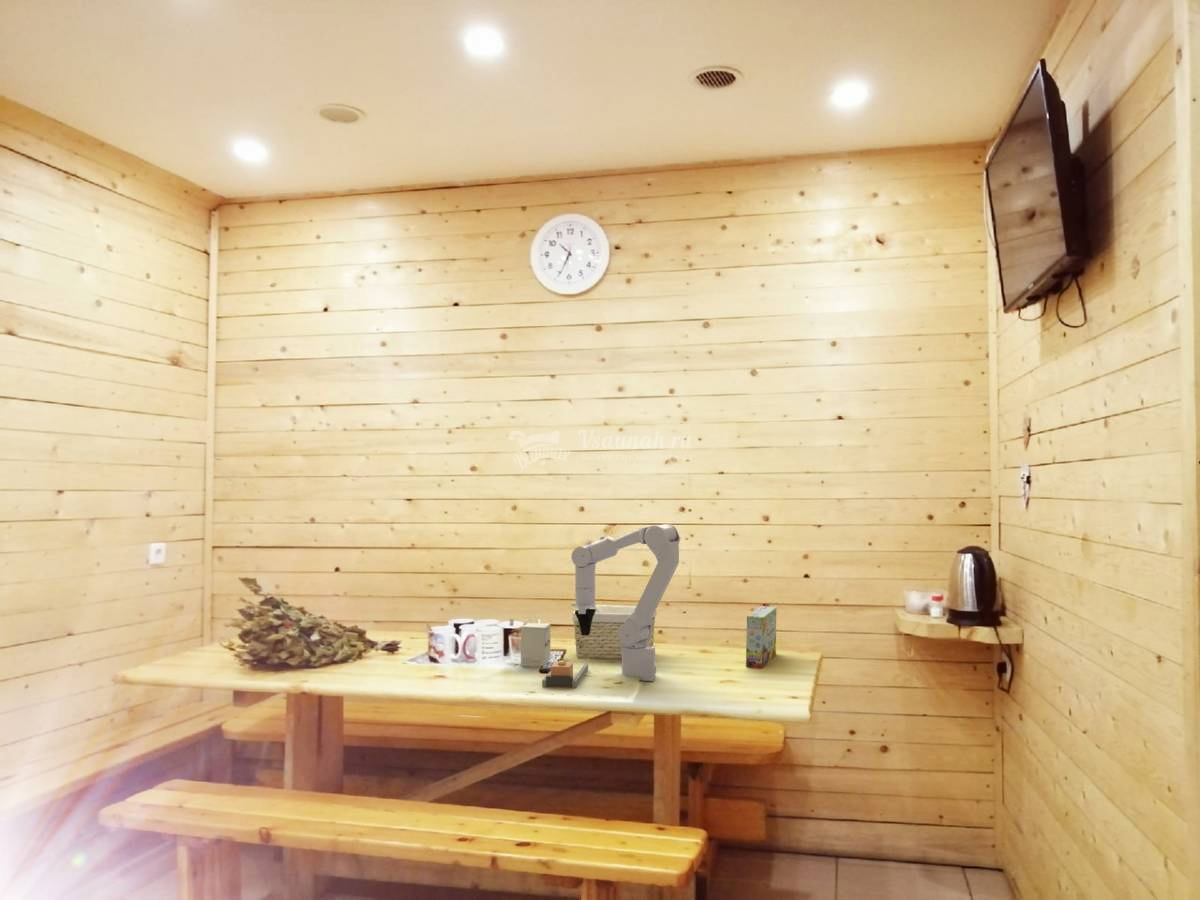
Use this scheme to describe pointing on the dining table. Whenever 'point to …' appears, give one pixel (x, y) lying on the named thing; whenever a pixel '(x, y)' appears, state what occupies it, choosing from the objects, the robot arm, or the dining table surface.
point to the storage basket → (604, 633)
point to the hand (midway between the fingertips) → (585, 635)
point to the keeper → (562, 668)
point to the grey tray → (564, 679)
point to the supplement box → (535, 644)
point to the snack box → (761, 637)
